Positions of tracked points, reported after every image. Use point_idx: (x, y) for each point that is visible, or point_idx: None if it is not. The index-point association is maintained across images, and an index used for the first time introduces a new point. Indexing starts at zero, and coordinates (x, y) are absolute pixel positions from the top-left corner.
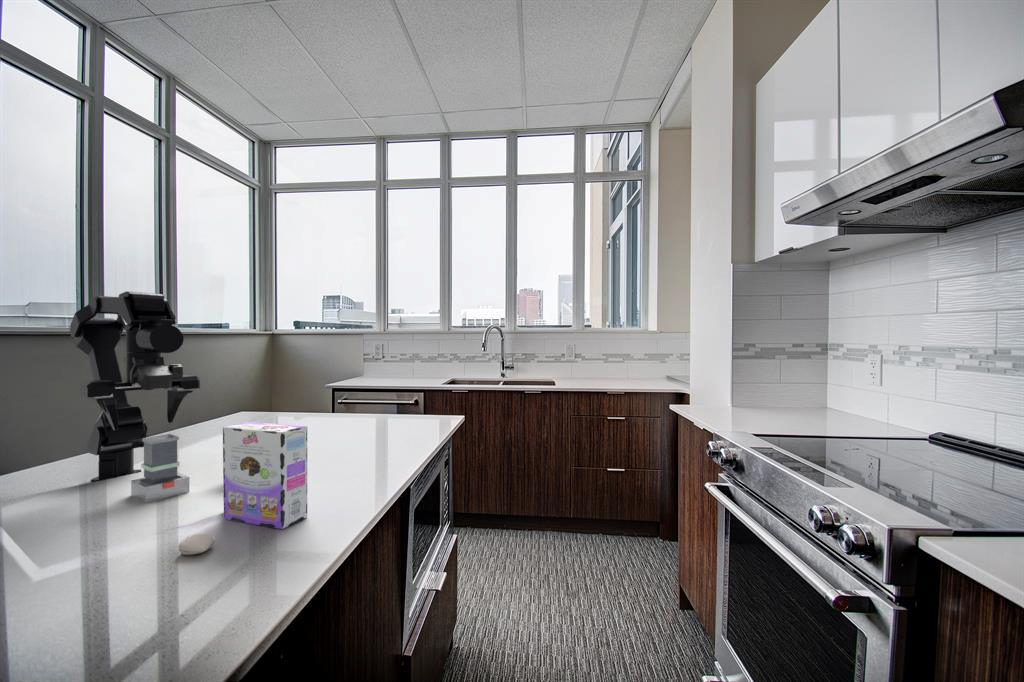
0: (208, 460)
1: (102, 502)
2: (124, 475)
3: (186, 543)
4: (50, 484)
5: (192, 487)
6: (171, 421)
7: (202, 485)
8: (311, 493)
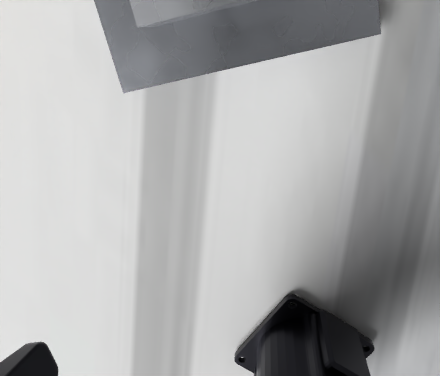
0: None
1: (393, 58)
2: (286, 322)
3: None
4: None
5: None
6: (28, 348)
7: (65, 19)
8: None
